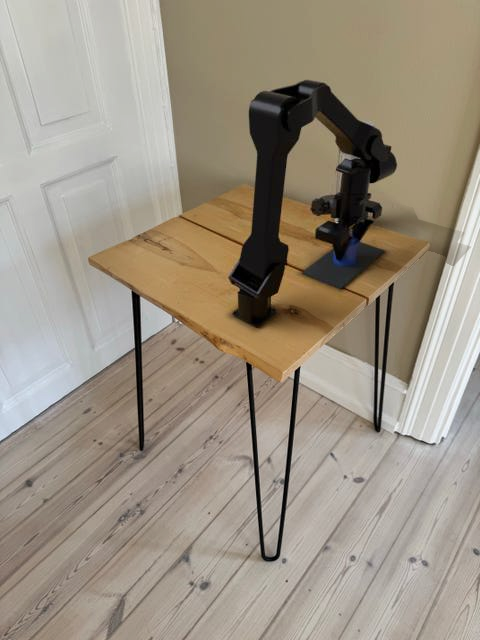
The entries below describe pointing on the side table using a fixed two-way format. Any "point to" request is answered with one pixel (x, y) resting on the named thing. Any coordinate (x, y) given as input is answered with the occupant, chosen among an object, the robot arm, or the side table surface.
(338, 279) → the mat
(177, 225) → the side table surface
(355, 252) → the flask
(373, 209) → the robot arm
